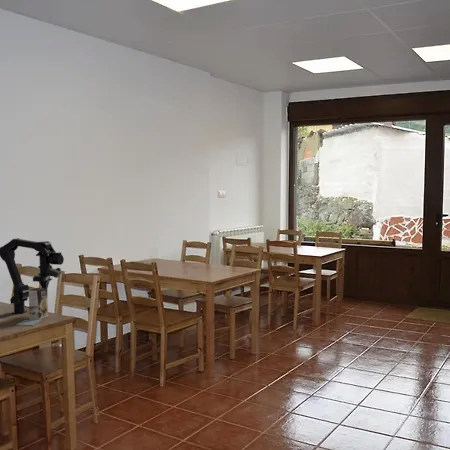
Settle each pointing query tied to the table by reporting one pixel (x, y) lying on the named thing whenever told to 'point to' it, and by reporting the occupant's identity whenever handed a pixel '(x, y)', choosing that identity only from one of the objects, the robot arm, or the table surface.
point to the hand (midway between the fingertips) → (45, 291)
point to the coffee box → (38, 303)
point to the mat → (28, 322)
